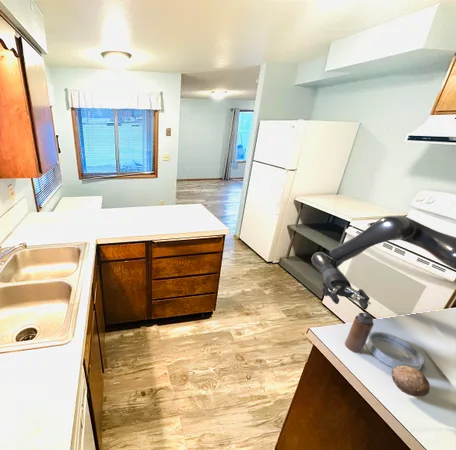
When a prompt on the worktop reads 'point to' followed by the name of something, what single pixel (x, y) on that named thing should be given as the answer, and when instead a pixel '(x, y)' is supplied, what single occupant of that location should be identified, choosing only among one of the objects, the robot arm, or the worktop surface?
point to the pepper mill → (359, 332)
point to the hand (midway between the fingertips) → (351, 304)
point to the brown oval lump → (410, 381)
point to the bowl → (392, 358)
